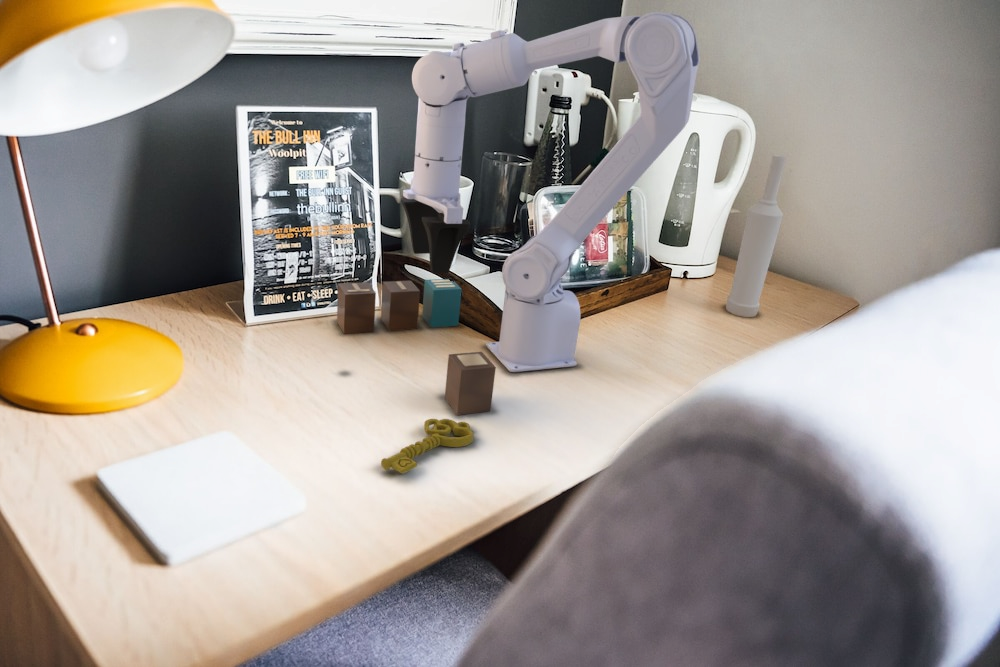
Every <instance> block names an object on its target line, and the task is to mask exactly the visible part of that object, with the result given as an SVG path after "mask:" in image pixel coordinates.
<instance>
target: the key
mask: <svg viewBox="0 0 1000 667" xmlns="http://www.w3.org/2000/svg"><path fill="white" fill-rule="evenodd" d="M430 426H432V428H430ZM423 427H424V431H425V434H426V435H429V436H427V437H424V438H423V439H422V441H420V440H419V441H416V442H415V444H413V443H411V444H409V445H407V446H405V447H402V448H401V449H400V451H399V452H398V453H396V454H394V455H392V456H390V457H388V458H385V457H384V458H382V459H381V462H380V463H381V464H380V465H381V467H382V469H384V470H386V471H389V470H390V469H391V468H392V469H394V470H395V471H396V472H398V473H400V474H405V473H407V472H410V471H411V470H413V469H416V468H417V467H418V462H416V461H415V460H413V459H414V458H417V457H418V455H422V454H424V453H425V452H426V451H431V450H433V449H435V448H437V447H439V446H443V447H450V448H461V447H465V446H469V445H470V444H471V443H473V442H474V431H473V430H472V429H471V426H470V424H469V423H468V422H466V421H459V422H457V421H456V420H453V419H450V418H441V419H437V418H429V419H426V420H425V421H424V425H423ZM451 432H452V433H453V436H454V437H452V436H448V435H450V434H451Z"/></svg>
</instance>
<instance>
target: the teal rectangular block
mask: <svg viewBox="0 0 1000 667" xmlns="http://www.w3.org/2000/svg"><path fill="white" fill-rule="evenodd" d="M449 279H450V278H438V279H434V278H433V279H424V284H423V300H422V312H421V317H422V318H423V320H424V321H425V322H426V323H427V325H428V326H429V328H431V329H432V328H447V327H458V326H459V320H460V312H461V300H462V290H463V289H462V288H461V286H459V285H458V284H457V282H456V281H454V282H453V281H450V280H449Z"/></svg>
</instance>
